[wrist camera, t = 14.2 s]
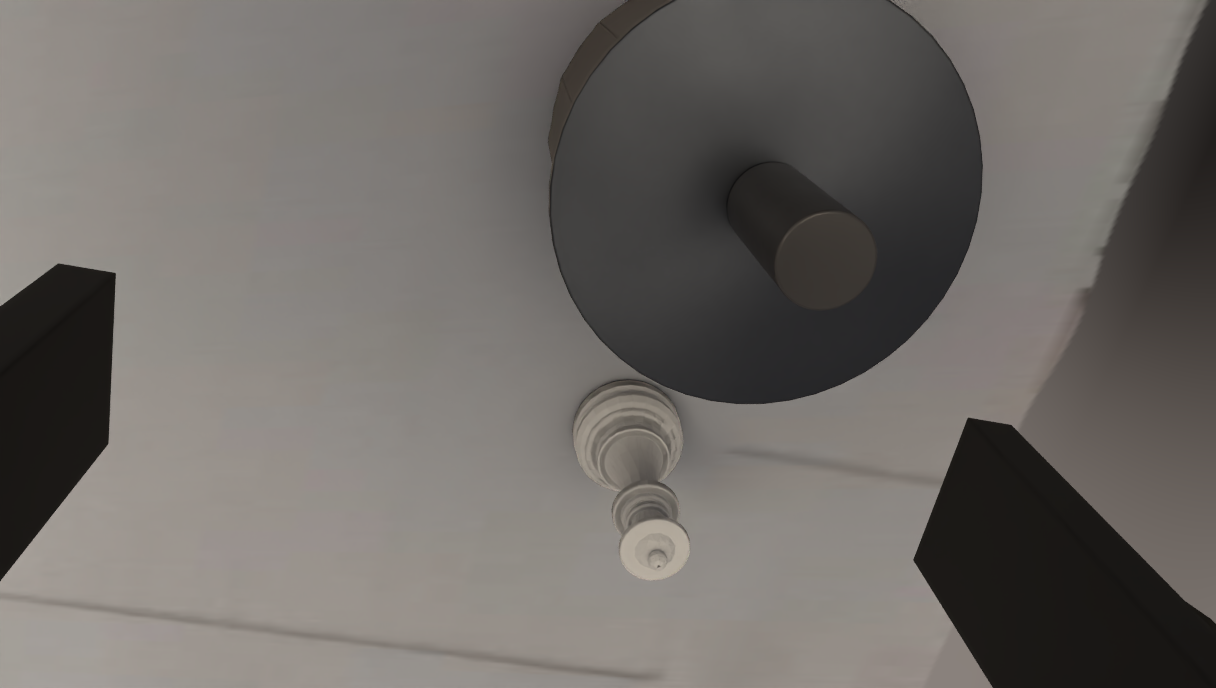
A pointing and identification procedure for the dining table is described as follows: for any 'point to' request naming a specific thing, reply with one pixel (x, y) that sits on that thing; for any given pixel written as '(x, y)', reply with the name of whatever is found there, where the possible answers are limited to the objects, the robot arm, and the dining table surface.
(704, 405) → the dining table surface
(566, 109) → the pot
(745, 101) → the pot lid
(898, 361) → the dining table surface
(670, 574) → the chess piece
